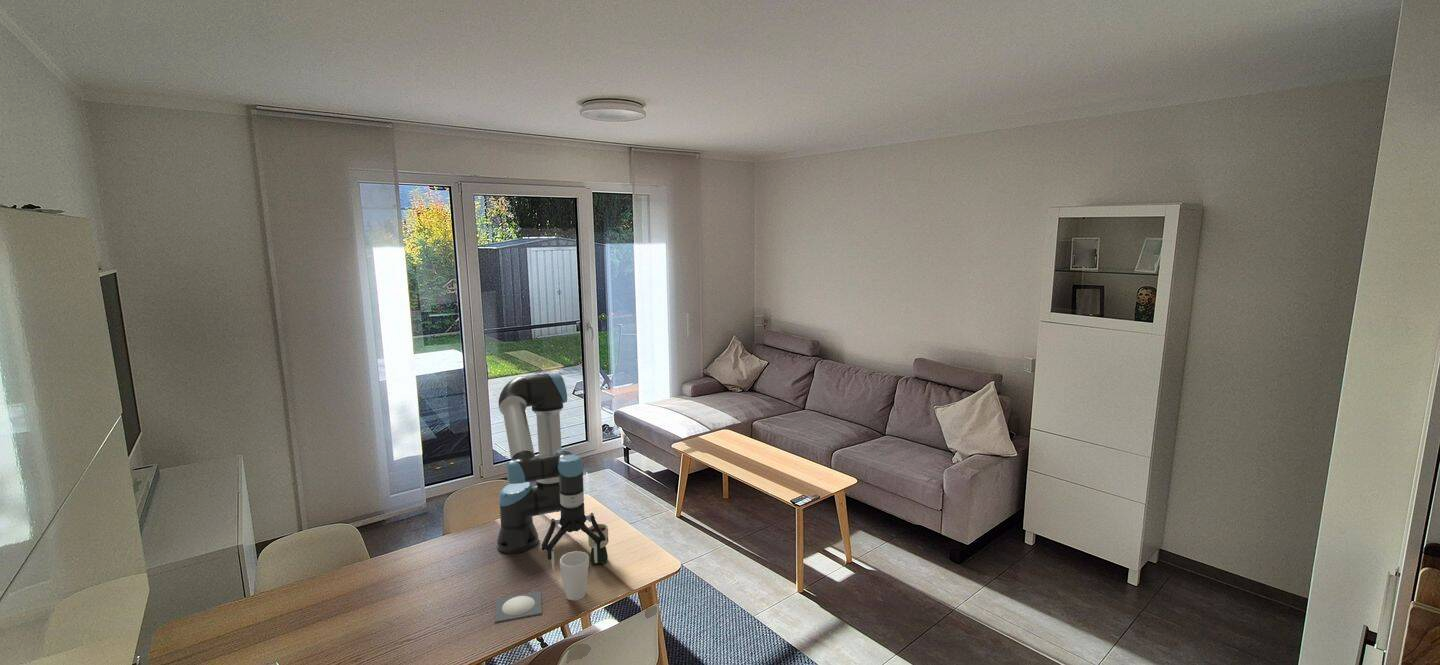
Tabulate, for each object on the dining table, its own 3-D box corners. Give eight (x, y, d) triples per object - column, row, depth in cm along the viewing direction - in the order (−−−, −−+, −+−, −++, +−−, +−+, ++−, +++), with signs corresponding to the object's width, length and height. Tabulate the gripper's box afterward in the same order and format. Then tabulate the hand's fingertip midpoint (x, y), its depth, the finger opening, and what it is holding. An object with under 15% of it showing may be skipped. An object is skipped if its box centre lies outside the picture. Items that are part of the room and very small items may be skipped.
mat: (495, 599, 197) (495, 598, 197) (540, 592, 202) (540, 590, 202) (494, 622, 186) (494, 621, 186) (542, 613, 190) (541, 612, 190)
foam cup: (582, 605, 195) (581, 568, 193) (556, 601, 197) (554, 565, 194) (594, 588, 204) (593, 552, 202) (569, 584, 206) (567, 549, 204)
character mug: (613, 565, 217) (612, 532, 215) (594, 571, 214) (593, 537, 212) (603, 551, 227) (602, 519, 224) (585, 556, 223) (584, 523, 221)
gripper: (532, 514, 187) (535, 577, 191) (612, 502, 195) (614, 563, 198) (531, 503, 194) (534, 564, 198) (609, 493, 202) (611, 552, 205)
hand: (574, 564), depth 198 cm, fingers open, 13 cm apart
